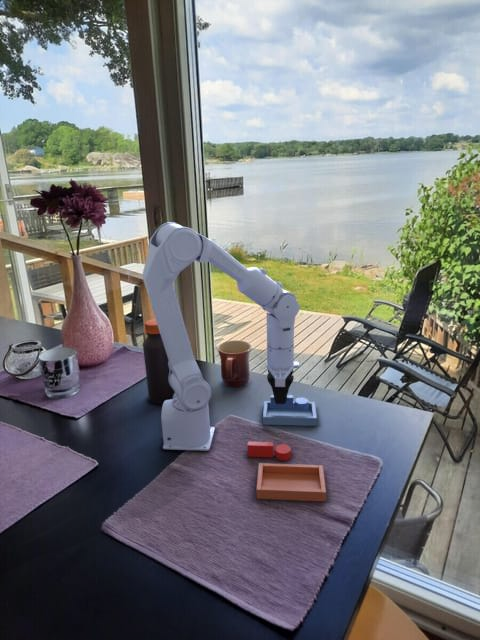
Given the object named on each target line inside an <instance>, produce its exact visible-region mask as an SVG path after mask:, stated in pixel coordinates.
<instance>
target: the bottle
mask: <svg viewBox="0 0 480 640" xmlns="http://www.w3.org/2000/svg"><path fill="white" fill-rule="evenodd" d="M144 331H145V335H146V338H145V339H144V340H143V342H142V350H143V351H142V352H143V360H144V367H145V368H144V369H145V376H146V385H147V393H148V400H149V402H151V403H152V404H155V405H163V403H164V401H165V400H170V399H173V396H174V393H175V391H174V390H173V389H172V387H171V386H170V384H169V380H168V377H169V372H170V370H169V366H168V362H169V360H168V357H167V353H166V350H165V347H164V344H163V341H162V338H161V334H160V331H159V328H158V325H157V322H156V319H155V318H151V319H148V320H146V321H144Z"/></svg>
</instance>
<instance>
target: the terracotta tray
mask: <svg viewBox="0 0 480 640" xmlns="http://www.w3.org/2000/svg"><path fill="white" fill-rule="evenodd" d="M256 479H257V480H256V490H255V491H256V500H257V499H258V500H279V501H281V500H282V501H302V502H305V501H306V502H327V489H326V479H325V472H324V465H323V464H302V463H301V464H298V463H296V464H295V463H270V462H269V463H267V462H266V463H265V462H258V468H257V478H256Z"/></svg>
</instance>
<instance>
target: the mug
mask: <svg viewBox="0 0 480 640" xmlns="http://www.w3.org/2000/svg"><path fill="white" fill-rule="evenodd" d="M216 350H217V352H218V355H219V358H220V359H219V360H220V377H221V381H222V384H223V385H224V386H226V387H228V388H231V389H239V388H243V387H245V386H247V385H248V384H249V382H250V376H251V371H250V356H251V355H250V354H251V351H252V344H251V343H250V342H247V341H246V340H245V341H244V340H228V341H223V342H221V343H219V344H218V345H217V346H216Z"/></svg>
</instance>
